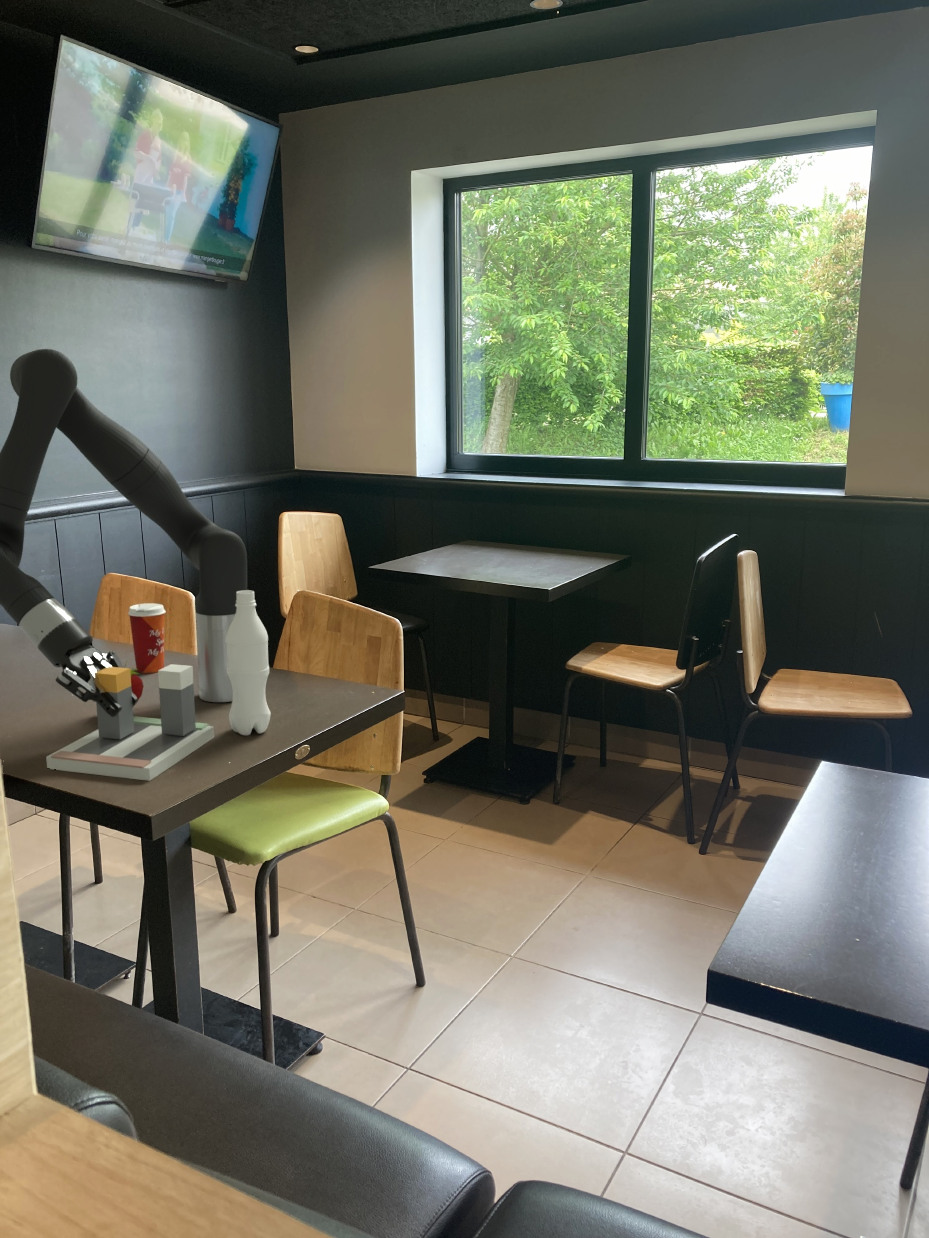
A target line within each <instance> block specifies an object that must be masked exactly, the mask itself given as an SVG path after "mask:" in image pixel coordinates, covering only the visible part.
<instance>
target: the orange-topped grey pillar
mask: <svg viewBox="0 0 929 1238" xmlns="http://www.w3.org/2000/svg"><path fill="white" fill-rule="evenodd" d="M130 670H131V668H128V667H124V668H119V667H107V668H105V669H102V670H100V671H98V672H96V673H94V674H96V675H97V676H98V678H99V682H100V684H101V685H102V686H103V687H104V689H105V693H106V692H108V693H109V694H110V695H111V696H112V697H113V698H114V700H115V701H116V702H117V703H118V704H119V705H120V706H121V707H122V710H121V711H120V712H119V713H118V714H117V715H116V716H114V717H111V716H110V715H109V714H108V713H106V711H105V710H104V709H103V708H102V707H101V706H100V705H99V704H98V703H97V702H95V703H96V714H97V717H96V718H97V730H98V731H99V737H102V738H112V739H122V738H124V737H126V736H127V735H129V734H131V733H133V732H134V718H133V716H134V707H133V704H132V688H131V673H130ZM94 688H95V687H94ZM95 689H96V688H95Z"/></svg>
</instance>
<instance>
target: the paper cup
mask: <svg viewBox="0 0 929 1238" xmlns="http://www.w3.org/2000/svg"><path fill="white" fill-rule="evenodd" d="M166 612H167V611H166V609H165V608H164V605H163V604H160V603H151V602H150V603H149V602H147V603H138V604H137V603H136V604H134V605H131V606H129V611H128V612H127V615H128V616H129V623H130V631H131V637H132V647H133V653H134V661H135V669H138V670H136V673H139V674H155V673H156V674H157V673H158V670H160V669H162V668H164V667H165V614H166Z"/></svg>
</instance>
